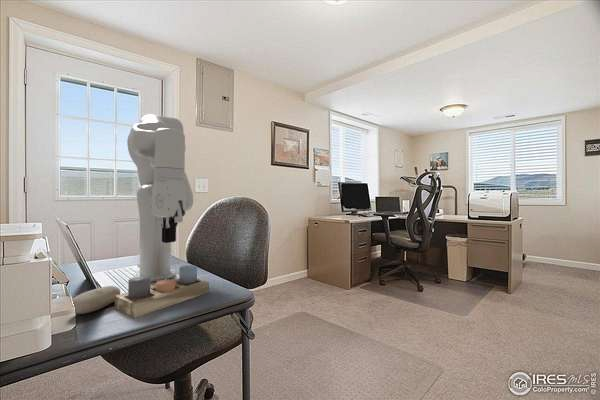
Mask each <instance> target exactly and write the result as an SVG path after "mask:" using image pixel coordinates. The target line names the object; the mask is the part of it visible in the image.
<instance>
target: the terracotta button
mask: <svg viewBox="0 0 600 400" xmlns="http://www.w3.org/2000/svg"><path fill="white" fill-rule="evenodd" d="M155 285H156V291H157V292H160V293H165V292H168V291H171V290H175V279H166V280H161V281H155Z"/></svg>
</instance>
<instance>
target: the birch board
mask: <svg viewBox="0 0 600 400" xmlns="http://www.w3.org/2000/svg"><path fill="white" fill-rule="evenodd" d="M174 280H175V290H171V291H168V292H165V293H160V292H157V291H156V284H153V285H150V295H148V296H146V297H142V298H129V297H128V292H124V293H120V294H119V295H116V296H115V301H114V309H117V310H118V311H121V312H123V313H124V314H127V315H129V316H131V317H133V318H135V319H136V318H139V317H142V316H145V315H148V314H150V313H153V312H156V311H159V310H162V309H165V308H167V307H170V306H173V305H176V304H179V303H182V302H184V301H188V300H190V299H191V300H192V299H194V298H196V297H199V296H202V295H205V294H208V293H210V282H209V281H206V280H203V279H200V278H197V281H196V282H193V283H187V284H184V283H180V282H179V278H175V279H174Z"/></svg>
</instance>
